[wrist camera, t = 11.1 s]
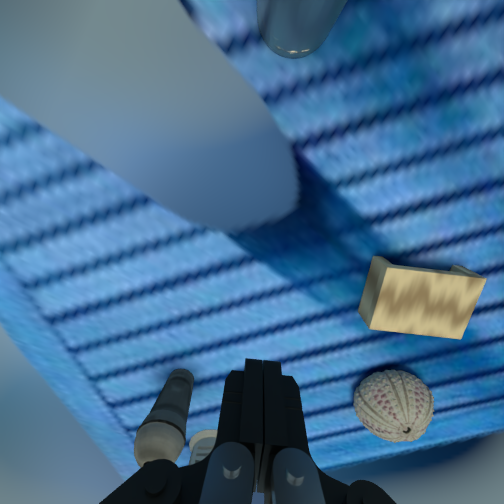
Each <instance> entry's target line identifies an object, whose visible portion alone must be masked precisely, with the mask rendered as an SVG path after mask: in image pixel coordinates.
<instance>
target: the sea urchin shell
mask: <svg viewBox="0 0 504 504" xmlns="http://www.w3.org/2000/svg"><path fill="white" fill-rule="evenodd" d="M355 391H356V392H354V404H353V405H354V407H355V412H356V416H357V417H359V419H360V422H362V423H363V425H364V426H365V427H366V428H368V429H369V431H370V432H371V433H373V434H374V435H376V436H378V437H380V438H382V439H384V440H389V441H391V442H392V441H393V442H394V443H395V442H399V441H410V442H412V441H413V440H416V439H418V438H419V437H420V436H421V435H422V434H424V432H426V428H427V426H428V424H429V423H430V421H432V420H431V417H433V416H434V415H433V411H434V409H433V406H434V405H433V403H434V401H433V399H434V397H433V396H432V391H430V390H429V389H428V387H427V386H426V385H424V384H423V382H422V381H421V379H418V378H417V377H416V376H415V375H411V374H410V373H408V372H405V371H402V370H401V371H395V370H394V369H393V370H385V371H384V372H376V373H373V374H372V375H370V376H368V377H367V378H365V379H363V381H361V384H360V386H359V387H357V388H356V390H355Z"/></svg>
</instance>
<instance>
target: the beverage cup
mask: <svg viewBox="0 0 504 504" xmlns="http://www.w3.org/2000/svg"><path fill="white" fill-rule="evenodd" d="M193 382H194V377H193V375H192V373H190V372H189V371H188V370H185V369H177V370H174V371H173V372H172V373H171V375H170V377H169V378H168V380H167V381H166V383H165V385H164V387H163V389H162V391H161V393H160V394H159V396H158V398H157V400H156V402H155V404H154V406H153V407H152V409H151V411H150V413H149V415H148V416H147V417H146V418H145V420H144V421H143V423H142V425H141V426H139V428H138V430H137V433H136V438H135V442H134V456H135V459H136V461H137V463H138V465H139V466H140V467H141V468H142V467H143V466H144V465H146V464H147V463H149V462H151V461H153V460H157V459H168V460H170V461H172V462H174V463H175V461H176V460H177V458H178V457H179V455H180V453H181V451H182V449H183V447H184V445H185V441H186V437H185V436H186V422H187V417H188V412H189V406H190V401H191V395H192V390H193Z"/></svg>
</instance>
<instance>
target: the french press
mask: <svg viewBox="0 0 504 504" xmlns="http://www.w3.org/2000/svg"><path fill="white" fill-rule="evenodd" d="M216 436H217V430H204V431H201V432H198V433H196V434H195V435H194V436H193V437H192V438H191V441H190V443H189V446H190V451H191V452H192V453H191V457H190V461H189V465H191V464H195V463H197V462H199V461H201V460H203V459H204V458H205V457H206V456H207V455H208V454H209V453H210V452H211V451H212V449H213V447H214V445H215V441H216Z"/></svg>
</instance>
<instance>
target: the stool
mask: <svg viewBox="0 0 504 504" xmlns="http://www.w3.org/2000/svg"><path fill="white" fill-rule="evenodd" d="M485 282H486V278H484V277H482V276H480V275H478V274H476V273H474V272H472V271H471V270H469V269H467V268H465V267H463V266H458V265H452V267H451V270H450V271H443V270H434V269H425V268H417V267H408V266H400V265H393V264H391V263H390V262H389V261H388V260H386V259H385V258H384V257H380V256H373V258H372V262H371V266H370V269H369V273H368V277H367V280H366V284H365V288H364V291H363V295H362V298H361V302H360V306H359V309H358V313H359V314H360V316H361V317H362V319H363V320H364V322H365V323H366V325H367V326H368V328H369V329H374V330H383V331H392V332H401V333H410V334H419V335H428V336H437V337H446V338H454V339H461V338H462V336H463V333H464V331H465V329H466V326H467V324H468V322H469V319H470V317H471V315H472V312H473V310H474V308H475V305H476V303H477V300H478V298H479V296H480V293H481V291H482V289H483V286H484V284H485Z"/></svg>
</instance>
